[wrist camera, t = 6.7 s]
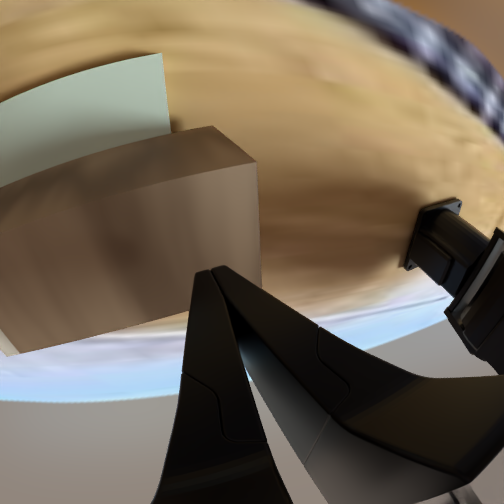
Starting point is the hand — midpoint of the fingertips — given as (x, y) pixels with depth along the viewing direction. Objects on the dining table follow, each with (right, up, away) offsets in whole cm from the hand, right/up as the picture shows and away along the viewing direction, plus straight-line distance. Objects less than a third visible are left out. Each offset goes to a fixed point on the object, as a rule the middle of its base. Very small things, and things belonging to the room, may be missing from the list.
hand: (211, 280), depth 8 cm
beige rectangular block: (0, +3, +4) cm, 5 cm away
